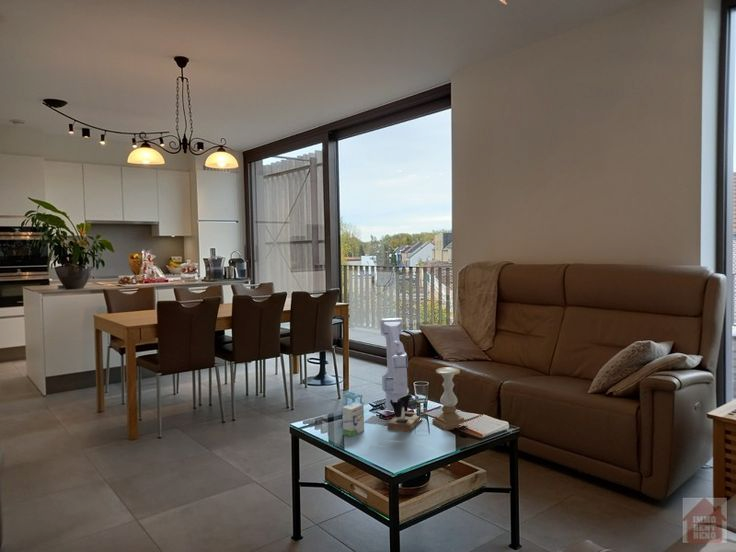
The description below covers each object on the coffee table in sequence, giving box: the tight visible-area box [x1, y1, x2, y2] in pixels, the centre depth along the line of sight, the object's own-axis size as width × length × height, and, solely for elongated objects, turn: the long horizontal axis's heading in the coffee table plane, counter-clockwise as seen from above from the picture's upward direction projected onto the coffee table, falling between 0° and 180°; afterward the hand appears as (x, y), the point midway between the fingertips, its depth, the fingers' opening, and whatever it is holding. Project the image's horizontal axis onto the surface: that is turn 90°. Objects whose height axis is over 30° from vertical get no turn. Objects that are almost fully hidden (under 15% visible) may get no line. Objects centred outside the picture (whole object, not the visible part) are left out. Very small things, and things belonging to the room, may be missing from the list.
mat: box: [364, 415, 390, 426], centre depth 236 cm, size 10×10×1 cm
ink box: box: [342, 403, 365, 438], centre depth 222 cm, size 9×5×12 cm, turn 143°
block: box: [386, 411, 420, 433], centre depth 230 cm, size 16×10×3 cm, turn 156°
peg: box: [398, 406, 405, 423], centre depth 226 cm, size 3×3×9 cm
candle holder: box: [432, 366, 467, 431], centre depth 227 cm, size 11×11×24 cm
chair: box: [341, 391, 365, 419], centre depth 241 cm, size 8×8×12 cm
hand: (401, 413), depth 226 cm, fingers open, 7 cm apart
